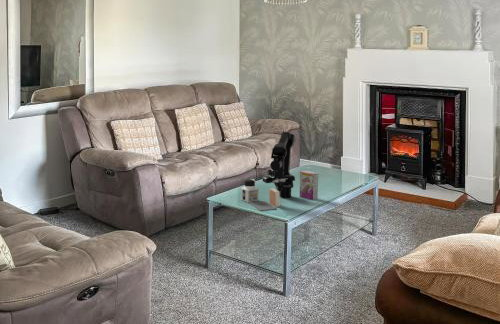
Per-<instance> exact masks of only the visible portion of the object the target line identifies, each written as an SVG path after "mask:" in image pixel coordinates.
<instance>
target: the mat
mask: <svg viewBox="0 0 500 324" xmlns="http://www.w3.org/2000/svg"><path fill="white" fill-rule="evenodd" d="M248 204H249V205H250V206H253V207H254V208H255V209H257V210H258V211H260V212H263V211H270V210H272V211H274V210H277V209H278V208H277V207H275V206H273V205H271V204H270V202H268V201H266V200H258V201H253V202H248Z"/></svg>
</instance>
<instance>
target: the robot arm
mask: <svg viewBox="0 0 500 324" xmlns="http://www.w3.org/2000/svg"><path fill="white" fill-rule="evenodd" d="M295 142H296V135H295V134H294V133H291V132H288V131H282V132H281V134H280V138H279V141H278V142H277V143H276V144H275V145H274V146H273V147H272V150H271V156H270V158H271V159H273V160H272V161H271V163H270V164H269V165H270V169H268V170H267V171H266V173H267V176H263V178H262V182H263V183H265V184H271V183H273V184H274V186H275V189H276V190H278V191H279V196H280V198H282V199H284V198H285V199H286V198H293V195H292V189H293V188H294V181H296V178H295V176H294V175H292V174H291V172H290V170H291V169H290V167H291V155H292V148H293V147H294V146H295Z"/></svg>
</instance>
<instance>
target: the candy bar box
mask: <svg viewBox="0 0 500 324" xmlns="http://www.w3.org/2000/svg"><path fill="white" fill-rule="evenodd" d="M299 172H300V173H299V197H300V198H304V199H307V200H311V201H314V200H318V197H319V196H318V195H319V194H318V191H319V190H318V189H319V173H318V172H313V171H309V170H301V171H299Z"/></svg>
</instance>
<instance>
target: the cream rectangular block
mask: <svg viewBox="0 0 500 324" xmlns="http://www.w3.org/2000/svg"><path fill="white" fill-rule="evenodd" d="M268 192H269V204H271V205H273V206H274V207H276V208H277V207H281V205H280V203H281V201H280V198H281V197H280V196H279V191H278V190H277V189H276V188H269V191H268Z"/></svg>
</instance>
